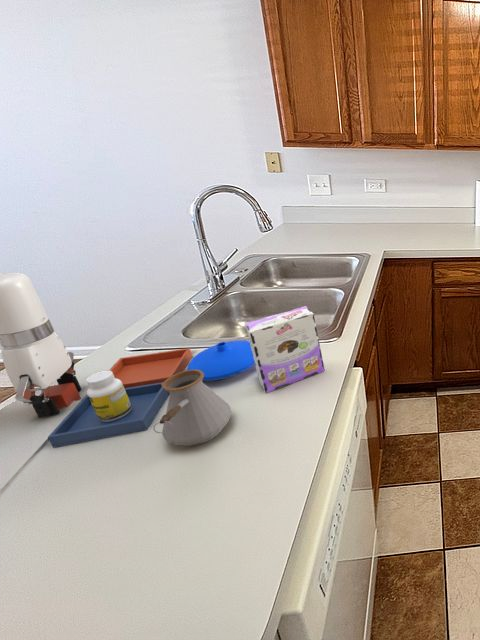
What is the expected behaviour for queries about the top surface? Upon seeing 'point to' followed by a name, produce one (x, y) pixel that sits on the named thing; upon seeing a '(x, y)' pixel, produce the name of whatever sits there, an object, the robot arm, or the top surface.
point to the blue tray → (89, 427)
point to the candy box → (285, 348)
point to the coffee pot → (192, 410)
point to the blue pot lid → (223, 360)
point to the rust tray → (150, 367)
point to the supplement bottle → (108, 396)
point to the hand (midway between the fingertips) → (61, 403)
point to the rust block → (63, 394)
